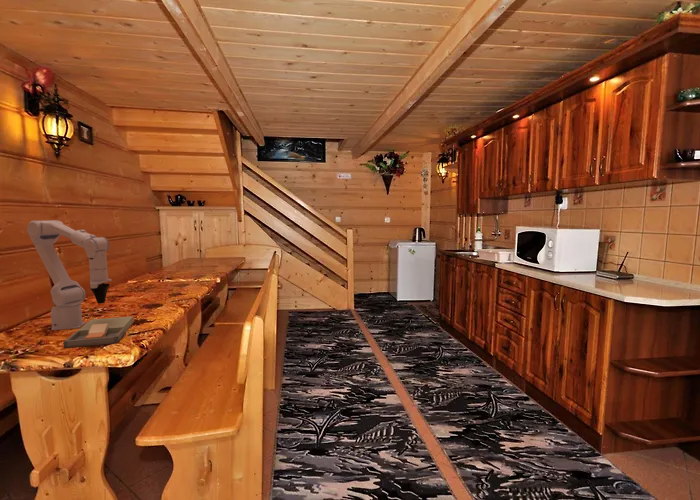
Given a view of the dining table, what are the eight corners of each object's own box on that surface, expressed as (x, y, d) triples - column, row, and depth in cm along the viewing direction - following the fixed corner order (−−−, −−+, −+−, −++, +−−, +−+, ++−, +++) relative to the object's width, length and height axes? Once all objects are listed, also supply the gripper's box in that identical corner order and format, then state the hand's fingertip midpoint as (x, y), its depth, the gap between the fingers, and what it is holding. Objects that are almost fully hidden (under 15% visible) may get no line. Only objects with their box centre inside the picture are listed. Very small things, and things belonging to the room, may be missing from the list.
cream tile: (89, 337, 135) (88, 333, 134) (93, 328, 139) (92, 324, 138) (105, 336, 137) (104, 332, 136) (108, 327, 141) (107, 323, 140)
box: (63, 348, 127) (63, 341, 127) (76, 337, 137) (75, 331, 137) (117, 343, 132) (117, 336, 132) (125, 333, 142) (125, 327, 142)
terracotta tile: (84, 343, 130) (84, 337, 130) (89, 338, 134) (89, 333, 134) (101, 341, 131) (101, 336, 131) (105, 337, 136) (105, 332, 136)
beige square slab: (77, 337, 138) (77, 330, 137) (91, 325, 152) (91, 319, 152) (124, 333, 142) (123, 326, 142) (133, 322, 156) (133, 316, 156)
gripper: (104, 270, 139) (107, 306, 141) (115, 265, 153) (118, 298, 154) (82, 271, 137) (85, 308, 138) (95, 266, 151) (98, 299, 152)
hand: (101, 303), depth 146 cm, fingers closed
